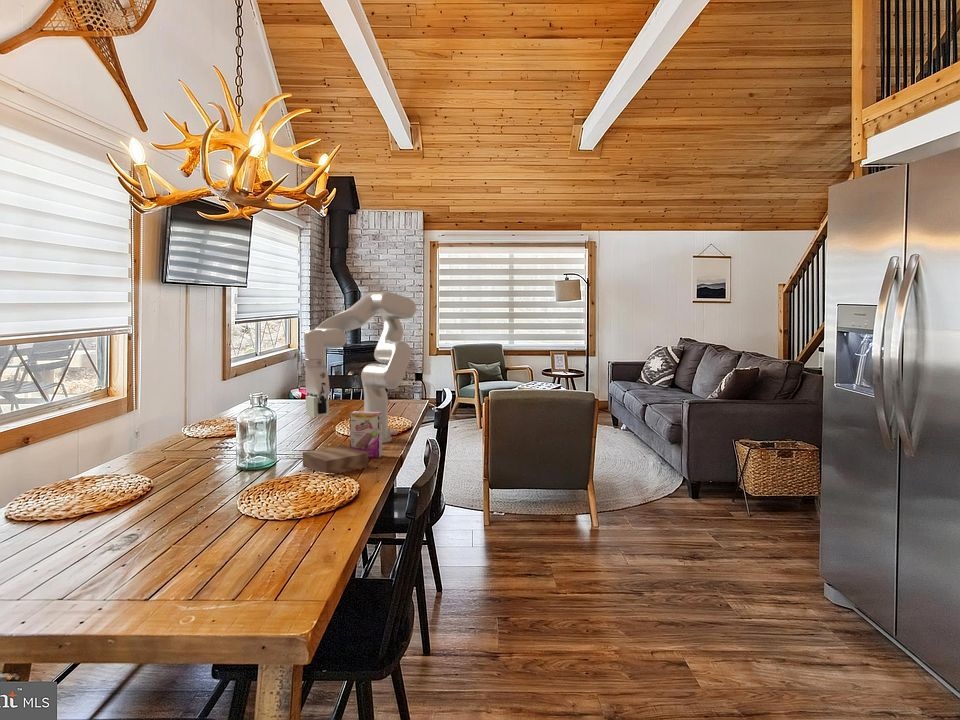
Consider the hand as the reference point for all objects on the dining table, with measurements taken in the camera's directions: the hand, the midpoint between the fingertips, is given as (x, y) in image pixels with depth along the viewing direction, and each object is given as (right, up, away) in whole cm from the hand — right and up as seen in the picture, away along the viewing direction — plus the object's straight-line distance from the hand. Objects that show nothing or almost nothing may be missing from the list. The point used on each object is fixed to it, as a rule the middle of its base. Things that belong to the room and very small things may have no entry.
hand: (317, 411), depth 232 cm
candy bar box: (+18, -17, -1) cm, 25 cm away
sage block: (0, -1, 0) cm, 1 cm away
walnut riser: (+10, -18, -16) cm, 26 cm away
